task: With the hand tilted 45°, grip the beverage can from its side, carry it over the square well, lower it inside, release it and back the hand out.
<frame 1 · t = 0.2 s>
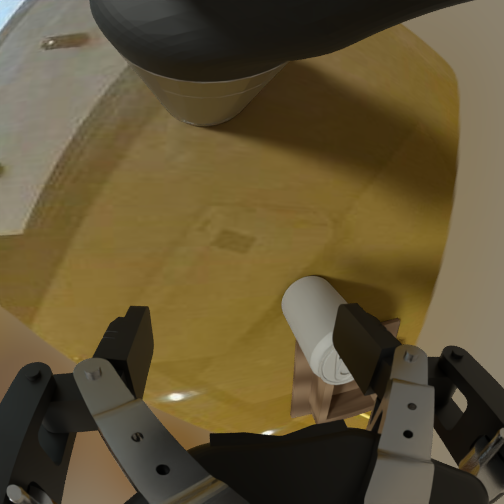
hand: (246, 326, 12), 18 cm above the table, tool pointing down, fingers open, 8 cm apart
well: (343, 371, 39), on the table
beverage can: (305, 297, 33), on the table
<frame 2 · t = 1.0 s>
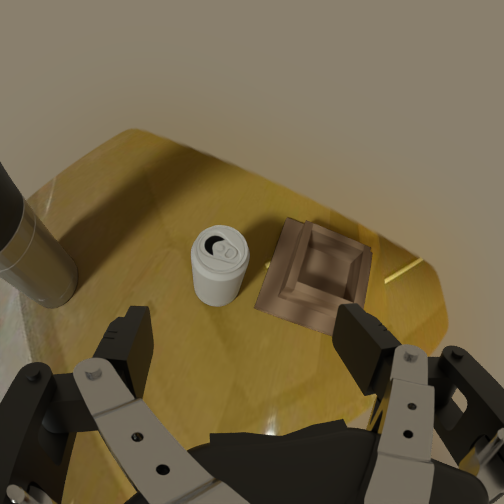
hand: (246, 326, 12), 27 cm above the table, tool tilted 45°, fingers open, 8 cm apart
well: (319, 279, 43), on the table
beverage can: (216, 286, 41), on the table
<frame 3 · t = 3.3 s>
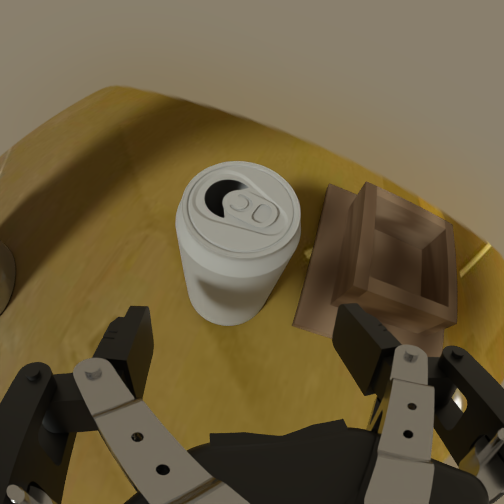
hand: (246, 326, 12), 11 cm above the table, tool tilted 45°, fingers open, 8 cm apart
well: (385, 273, 27), on the table
beverage can: (227, 291, 24), on the table
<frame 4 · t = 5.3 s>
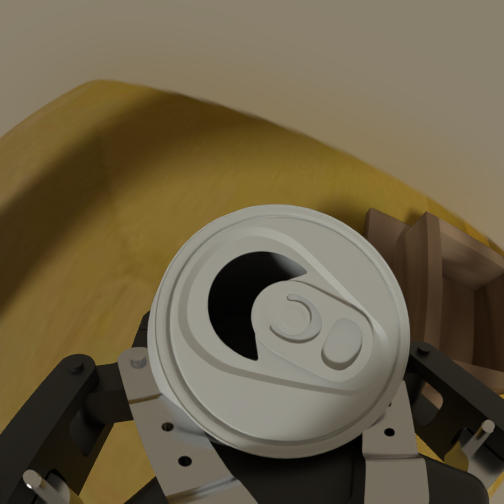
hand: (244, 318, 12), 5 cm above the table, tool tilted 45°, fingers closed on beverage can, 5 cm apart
well: (436, 327, 19), on the table
beverage can: (239, 369, 16), on the table, touching gripper
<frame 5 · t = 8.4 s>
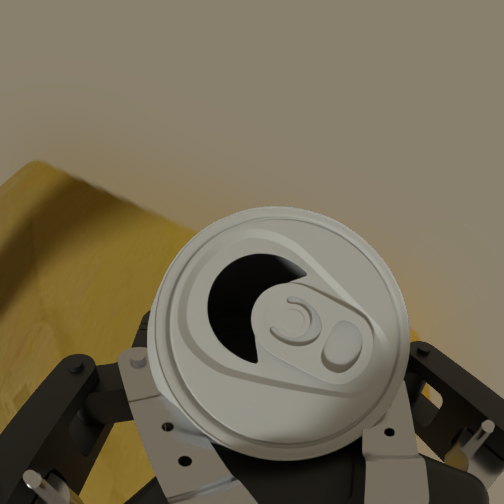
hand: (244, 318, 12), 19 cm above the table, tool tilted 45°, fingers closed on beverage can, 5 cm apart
beverage can: (239, 370, 16), point 14 cm above the table, touching gripper
when the fingers open (8 cm above the table, at t = 11.2 s): beverage can moves 1 cm, resting on well.
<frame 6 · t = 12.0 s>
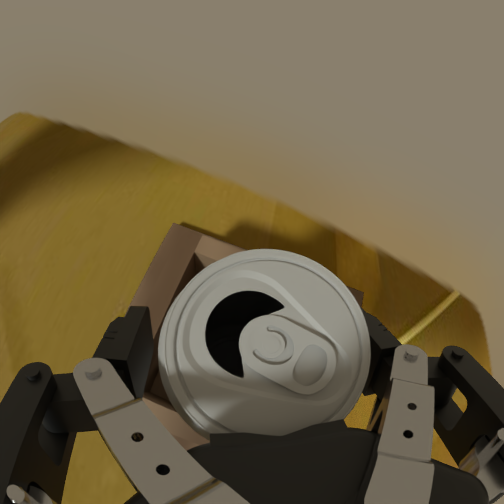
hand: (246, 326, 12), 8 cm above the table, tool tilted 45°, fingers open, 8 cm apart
well: (232, 360, 19), on the table
beverage can: (236, 373, 18), point 1 cm above the table, touching well
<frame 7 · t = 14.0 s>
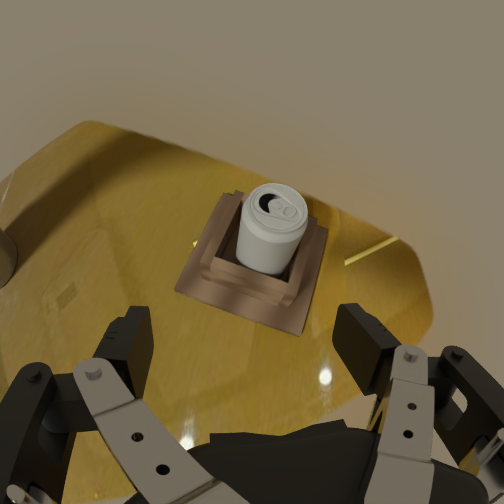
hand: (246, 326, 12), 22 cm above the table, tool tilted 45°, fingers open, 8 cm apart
well: (257, 259, 38), on the table
beverage can: (259, 264, 37), point 1 cm above the table, touching well
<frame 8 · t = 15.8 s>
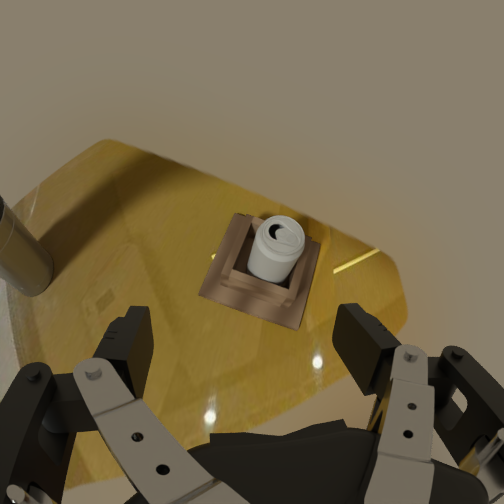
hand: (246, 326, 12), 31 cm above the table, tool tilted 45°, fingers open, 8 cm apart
well: (263, 269, 47), on the table
beverage can: (265, 273, 46), point 1 cm above the table, touching well
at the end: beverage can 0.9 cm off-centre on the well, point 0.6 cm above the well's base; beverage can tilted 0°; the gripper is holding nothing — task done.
